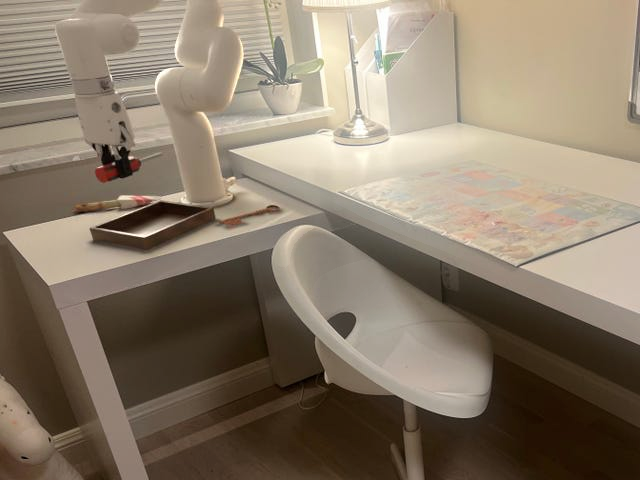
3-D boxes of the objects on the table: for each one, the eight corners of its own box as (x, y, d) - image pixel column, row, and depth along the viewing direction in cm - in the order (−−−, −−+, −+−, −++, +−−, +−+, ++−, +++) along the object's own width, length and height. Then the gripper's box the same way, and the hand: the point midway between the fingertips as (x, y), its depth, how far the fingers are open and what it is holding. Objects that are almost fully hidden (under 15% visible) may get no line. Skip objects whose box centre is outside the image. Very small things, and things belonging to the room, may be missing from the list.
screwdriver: (158, 160, 167) (154, 146, 165) (168, 161, 166) (164, 146, 164) (98, 182, 154) (92, 167, 152) (108, 183, 152) (103, 167, 151)
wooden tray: (164, 212, 177) (160, 199, 175) (216, 220, 171) (213, 207, 169) (93, 241, 161) (89, 227, 159) (148, 251, 155) (144, 237, 153)
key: (227, 229, 166) (286, 213, 174) (226, 226, 165) (286, 210, 174) (216, 221, 170) (275, 206, 178) (215, 218, 169) (274, 202, 177)
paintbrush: (158, 194, 180) (72, 205, 177) (161, 205, 181) (76, 216, 178) (160, 189, 183) (76, 200, 180) (164, 200, 184) (80, 211, 181)
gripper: (137, 84, 147) (161, 174, 156) (80, 81, 153) (106, 167, 163) (108, 92, 141) (134, 184, 151) (49, 88, 147) (78, 177, 157)
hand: (119, 175), depth 156 cm, fingers closed on screwdriver, 3 cm apart
